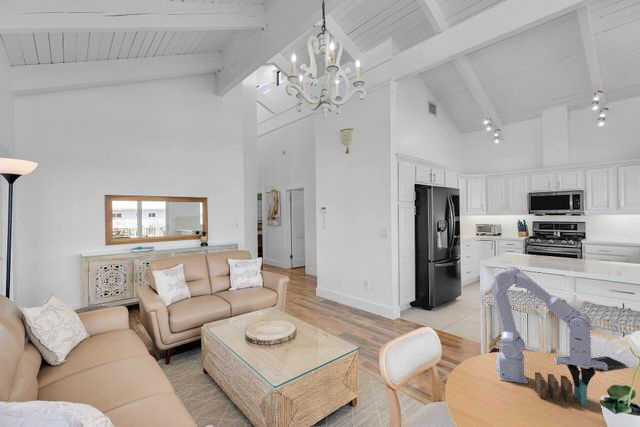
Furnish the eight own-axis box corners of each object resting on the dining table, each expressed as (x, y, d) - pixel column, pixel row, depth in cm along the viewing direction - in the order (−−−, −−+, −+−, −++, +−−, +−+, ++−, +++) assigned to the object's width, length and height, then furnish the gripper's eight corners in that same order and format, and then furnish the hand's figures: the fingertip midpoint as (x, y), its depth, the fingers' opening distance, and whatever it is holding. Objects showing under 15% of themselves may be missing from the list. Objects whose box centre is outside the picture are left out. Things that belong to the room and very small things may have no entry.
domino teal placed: (581, 404, 104) (581, 385, 104) (574, 395, 109) (574, 377, 109) (586, 405, 104) (586, 385, 104) (579, 396, 109) (579, 377, 108)
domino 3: (567, 402, 106) (566, 383, 105) (560, 394, 110) (560, 375, 110) (572, 403, 105) (572, 383, 105) (566, 394, 110) (565, 376, 110)
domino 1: (540, 398, 108) (539, 379, 108) (535, 390, 113) (534, 372, 113) (545, 399, 108) (545, 380, 107) (540, 391, 112) (540, 372, 112)
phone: (578, 360, 131) (607, 356, 133) (578, 362, 131) (607, 358, 133) (598, 370, 123) (627, 365, 126) (598, 372, 123) (627, 368, 126)
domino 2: (553, 400, 107) (553, 381, 107) (547, 392, 112) (547, 373, 111) (558, 401, 106) (558, 382, 106) (553, 392, 111) (552, 374, 111)
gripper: (560, 351, 104) (560, 389, 105) (612, 356, 100) (613, 396, 100) (551, 342, 111) (552, 378, 111) (600, 346, 106) (601, 384, 107)
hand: (580, 386), depth 106 cm, fingers closed on domino teal placed, 2 cm apart
